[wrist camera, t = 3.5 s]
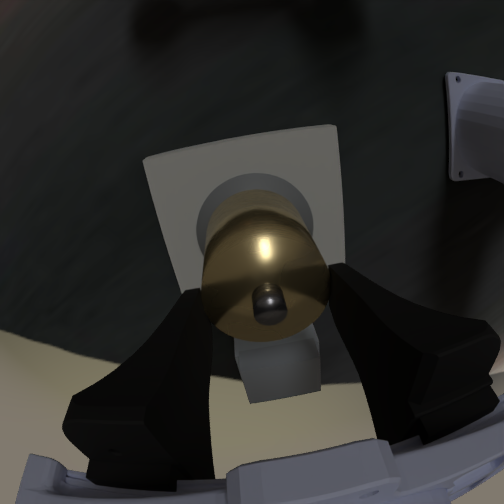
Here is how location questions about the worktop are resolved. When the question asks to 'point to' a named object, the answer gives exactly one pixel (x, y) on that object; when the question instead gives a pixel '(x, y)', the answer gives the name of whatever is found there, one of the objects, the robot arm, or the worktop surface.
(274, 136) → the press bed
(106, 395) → the robot arm
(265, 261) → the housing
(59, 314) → the worktop surface
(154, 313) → the worktop surface
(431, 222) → the worktop surface
